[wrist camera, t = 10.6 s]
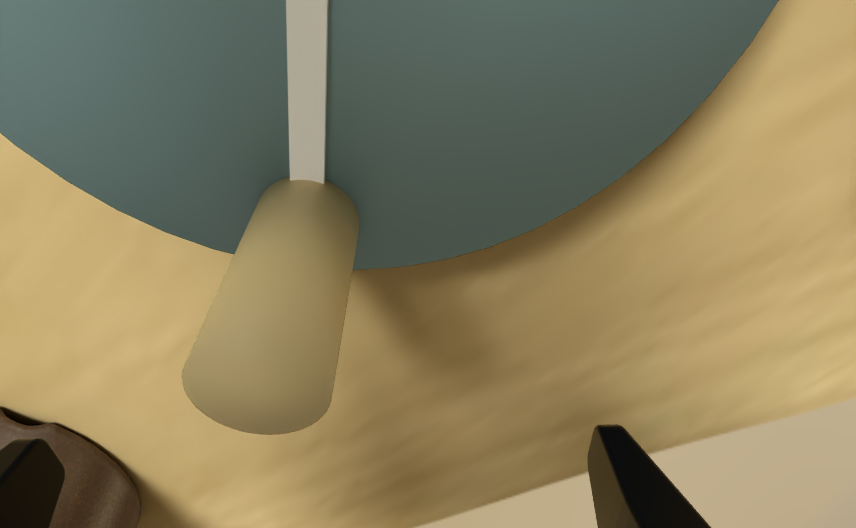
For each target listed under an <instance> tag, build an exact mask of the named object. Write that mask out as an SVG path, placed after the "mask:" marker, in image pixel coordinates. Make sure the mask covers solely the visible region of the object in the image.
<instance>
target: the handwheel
mask: <svg viewBox="0 0 856 528" xmlns="http://www.w3.org/2000/svg"><path fill="white" fill-rule="evenodd" d="M778 1H779V0H0V133H1V134H2V135H3V136H5V137H6V138H7V139H8V140H10V141H11V142H12V143H13V144H14V145H16V146H17V147H18V148H20V149H21V150H23V151H24V152H26V153H27V154H29V155H30V156H31V157H33V158H34V159H36V160H37V161H39V162H40V163H41V164H43V165H44V166H46V167H47V168H49V169H50V170H52V171H53V172H54V173H56V174H57V175H59V176H60V177H62V178H63V179H64V180H66V181H68V182H69V183H71V184H73V185H75V186H76V187H78V188H80V189H81V190H83V191H85V192H87V193H88V194H90V195H92V196H94V197H95V198H97V199H99V200H101V201H102V202H104V203H106V204H108V205H109V206H111V207H113V208H115V209H116V210H118V211H121V212H123V213H125V214H127V215H129V216H131V217H134V218H136V219H138V220H140V221H142V222H144V223H147V224H149V225H151V226H153V227H155V228H157V229H160V230H162V231H164V232H166V233H169V234H172V235H175V236H178V237H180V238H183V239H186V240H189V241H192V242H195V243H197V244H200V245H203V246H206V247H209V248H212V249H215V250H219V251H223V252H227V253H231V254H234V256H233V259H232V261H231V263H230V265H229V267H228V270H227V272H226V274H225V276H224V278H223V281H222V283H221V285H220V287H219V289H218V292H217V294H216V296H215V298H214V300H213V303H212V305H211V307H210V309H209V311H208V314H207V316H206V318H205V320H204V323H203V325H202V327H201V329H200V331H199V334H198V336H197V338H196V340H195V342H194V345H193V347H192V349H191V351H190V353H189V356H188V358H187V360H186V362H185V365H184V368H183V371H182V383H183V386H184V390H185V392H186V394H187V396H188V397H189V399H190V400H191V402H192V403H193V404H194V405H195V406H196V407H197V408H198V409H199V410H200V411H201V412H202V413H204V414H205V415H206V416H208V417H209V418H211V419H213V420H214V421H216V422H218V423H220V424H222V425H225V426H227V427H230V428H233V429H236V430H239V431H243V432H248V433H254V434H266V435H273V434H285V433H290V432H295V431H298V430H301V429H304V428H306V427H308V426H310V425H312V424H313V423H315V422H316V421H318V420H319V419H320V418H321V417H322V416H323V415H324V414H325V413H326V411H327V409H328V408H329V405H330V403H331V398H332V392H333V386H334V380H335V374H336V368H337V362H338V356H339V349H340V343H341V337H342V331H343V325H344V319H345V313H346V307H347V300H348V294H349V288H350V282H351V276H352V270H362V269H378V268H394V267H404V266H410V265H416V264H422V263H428V262H434V261H440V260H445V259H449V258H453V257H456V256H460V255H463V254H467V253H470V252H474V251H477V250H481V249H485V248H488V247H491V246H494V245H496V244H499V243H501V242H504V241H506V240H509V239H511V238H514V237H516V236H519V235H521V234H524V233H526V232H529V231H531V230H534V229H536V228H538V227H540V226H541V225H543V224H545V223H547V222H549V221H551V220H553V219H555V218H557V217H558V216H560V215H562V214H564V213H566V212H568V211H570V210H572V209H574V208H575V207H577V206H579V205H581V204H582V203H584V202H585V201H587V200H588V199H590V198H591V197H592V196H594V195H595V194H597V193H598V192H600V191H601V190H603V189H604V188H606V187H607V186H609V185H610V184H612V183H613V182H615V181H616V180H618V179H619V178H621V177H622V176H623V175H625V174H626V173H627V172H628V171H629V170H631V169H632V168H633V167H634V166H635V165H637V164H638V163H639V162H640V161H641V160H643V159H644V158H645V157H646V156H647V155H649V154H650V153H651V152H652V151H653V150H655V149H656V148H657V147H658V146H659V145H660V144H662V143H663V142H664V141H665V140H666V139H667V138H668V137H669V136H670V135H671V134H672V133H673V132H674V131H675V130H676V129H677V128H678V127H679V126H680V125H681V124H682V123H683V122H684V121H685V120H686V119H687V118H688V117H689V116H690V115H691V114H692V113H693V112H694V111H695V110H696V109H697V108H698V107H699V106H700V104H701V103H702V102H703V101H704V100H705V99H706V98H707V97H708V96H709V95H710V94H711V93H712V91H713V90H714V89H715V88H716V86H717V85H718V84H719V83H720V81H721V80H722V79H723V78H724V76H725V75H726V74H727V73H728V71H729V70H730V69H731V67H732V66H733V65H734V64H735V62H736V61H737V60H738V59H739V57H740V56H741V55H742V54H743V52H744V51H745V50H746V49H747V47H748V46H749V45H750V44H751V42H752V41H753V39H754V37H755V36H756V34H757V33H758V31H759V30H760V28H761V27H762V25H763V24H764V22H765V21H766V19H767V17H768V16H769V14H770V13H771V11H772V10H773V8H774V7H775V5H776V4H777V2H778Z"/></svg>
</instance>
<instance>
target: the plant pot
mask: <svg viewBox="0 0 856 528" xmlns="http://www.w3.org/2000/svg"><path fill="white" fill-rule="evenodd" d="M19 438H43V439H45V440H46V441H47V442H48V443H49V445H50V446H51V447H52V449H53V450H54V452H55V453H56V455H57V456H58V458H59V459H60V460H61V462H62V463H63V465H64V468H65V480H64V484H63V487H62V490H61V493H60V496H59V499H58V503H57V506H56V509H55V512H54V515H53V518H52V521H51V524H50V527H49V528H137V525H138V522H139V518H140V514H141V503H140V498H139V495H138V492H137V489H136V488H135V486H134V485H133V483H132V481H131V480H130V479H129V477H128V476H127V475H126V473H125V472H124V471H123V470H122V469H121V468H120V467H119V465H118V464H117V463H116V462H114V461H113V460H112V459H111V458H110V457H108V456H107V455H106V454H105V453H104V452H102V451H101V450H99V449H98V448H97V447H95V446H94V445H92V444H91V443H90V442H88V441H86V440H85V439H83V438H81V437H80V436H78V435H76V434H74V433H72V432H70V431H68V430H65V429H63V428H61V427H59V426H57V425H55V424H42V425H38V426H26V425H22V424H20V423H17V422H15V421H13V420H11V419H9V418H7V417H6V416H5V414H4V413H3V411H2V410H1V409H0V450H1V449H2V448H3V447H5V446H6V445H7V444H9V443H10V442H12V441H14V440H16V439H19Z"/></svg>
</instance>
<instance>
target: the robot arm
mask: <svg viewBox="0 0 856 528" xmlns="http://www.w3.org/2000/svg"><path fill="white" fill-rule="evenodd" d="M588 471H589V477H590V483H591V488H592V495H593V501H594V507H595V513H596V519H597V525H598V528H711V527H710V526H709V525H708V524H707V522H706V521H705V520H704V519H703V518H702V517H701V515H700V514H699V513H698V512H697V511H696V510H695V509H694V508H693V506H692V505H691V504H690V503H689V502H688V501H687V499H686V498H685V497H684V496H683V495H682V494H681V492H679V490H678V489H677V488H676V487H675V486H674V484H673V483H672V482H671V481H670V480H669V479H668V478H667V476H665V474H664V473H663V472H662V471H661V470H660V468H659V467H658V466H657V465H656V464H655V463H654V462H653V460H652V459H651V458H650V457H649V456H648V455H647V454H646V452H645V451H644V450H643V449H642V448H641V447H640V445H639V444H638V443H637V442H636V441H635V440H634V439H633V437H632V436H631V435H630V434H629V433H628V432H627V431H626V429H625V428H623V427H622V426H620V425H617V424H615V425H597V426H596V427H595V428H594V431H593V435H592V439H591V444H590V448H589V452H588ZM64 480H65V468H64V465H63V463H62V462H61V460H60V459H59V458H58V456H57V455H56V453H55V452H54V450H53V449H52V447H51V446H50V445H49V443H48V442H47V441H46V440H45V439H43V438H19V439H16V440H14V441H12V442H10V443H9V444H7V445H6V446H5V447H3V448H2V449H1V450H0V528H49V527H50V524H51V521H52V518H53V515H54V512H55V509H56V506H57V503H58V499H59V496H60V493H61V490H62V487H63V484H64Z"/></svg>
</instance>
